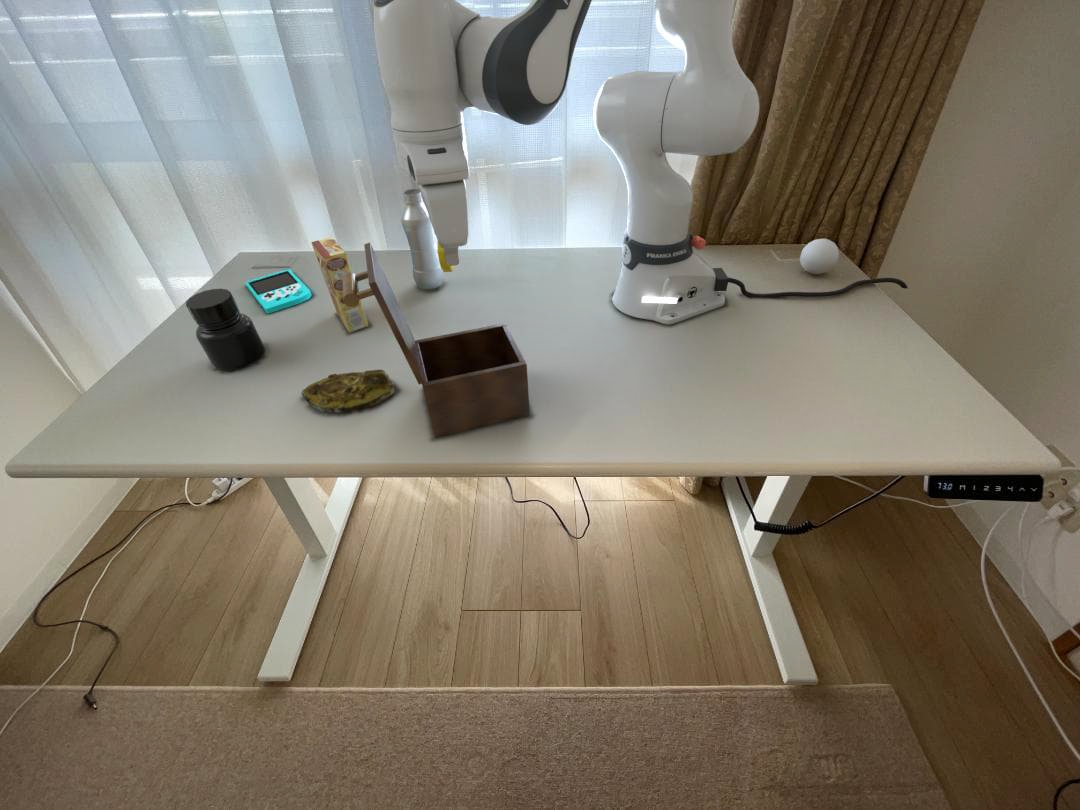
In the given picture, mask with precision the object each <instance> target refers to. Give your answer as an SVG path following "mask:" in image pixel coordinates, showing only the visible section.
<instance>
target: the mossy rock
mask: <svg viewBox="0 0 1080 810" xmlns="http://www.w3.org/2000/svg"><path fill="white" fill-rule="evenodd" d="M394 393H396V385H395V384H394V382H393V381H392V380H390V375H389V374H388V373H387V372H386V370H384V369H372V370H365V371H361V372H360V371H357V372H355V371H353V372H343V373H338V374H337V373H331V374H328V375H327V377H324V378H322V379H320V380H318V381H315V382H313V383H311V384H309V385H307V386H306V387H305V388H304V389H302V391H301V396H302V397H303V398H304V400H305V401H306V402H307V404H308V406H310V407H311V408H312V409H314V410H316V411H319V412H322V413H326V414H341V413H347V412H350V411H356V410H362V409H363V410H364V409H366V408H370V407H373V406H375V405H378V404H379V403H382V402H384V401H385V400H387V399H388V398H389V397H391V396H392V395H393V394H394Z"/></svg>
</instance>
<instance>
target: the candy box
mask: <svg viewBox="0 0 1080 810" xmlns="http://www.w3.org/2000/svg"><path fill="white" fill-rule="evenodd" d="M311 246H312V249H313V252H314V254H315V257H316V260H317V262H318V265H319V269H320V271H321V274H322V276H323V280H324V282H325V284H326V288H327V290H328V293H329V295H330V298H331V300H332V303H333V306H334V309H335V312H336V314H337V316H338V317H339V319H340V321H341V322H342V324H343V325H344V327H345V328H346V330H347V331H348V333H352V332H355V331H358V330H361V329H365V328H367V327H369V323H368V318H367V316H366V313H365V310H364V307H363V303H362V299H361V300H359V304H358V305H357V306H355V307H349V306H347V305H345V303H344V301H343V275H344V274H345V273H347V272H352V269H351V266H350V263H349V259H348V256H347V254H346V252H345V250H344V249H343V248H342V247H341V245H340V244H339V243H338V242H337V241H336V240H335V239H334V237H333V236H331V237H326V238H321V239H318V240H314V241H311Z"/></svg>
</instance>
